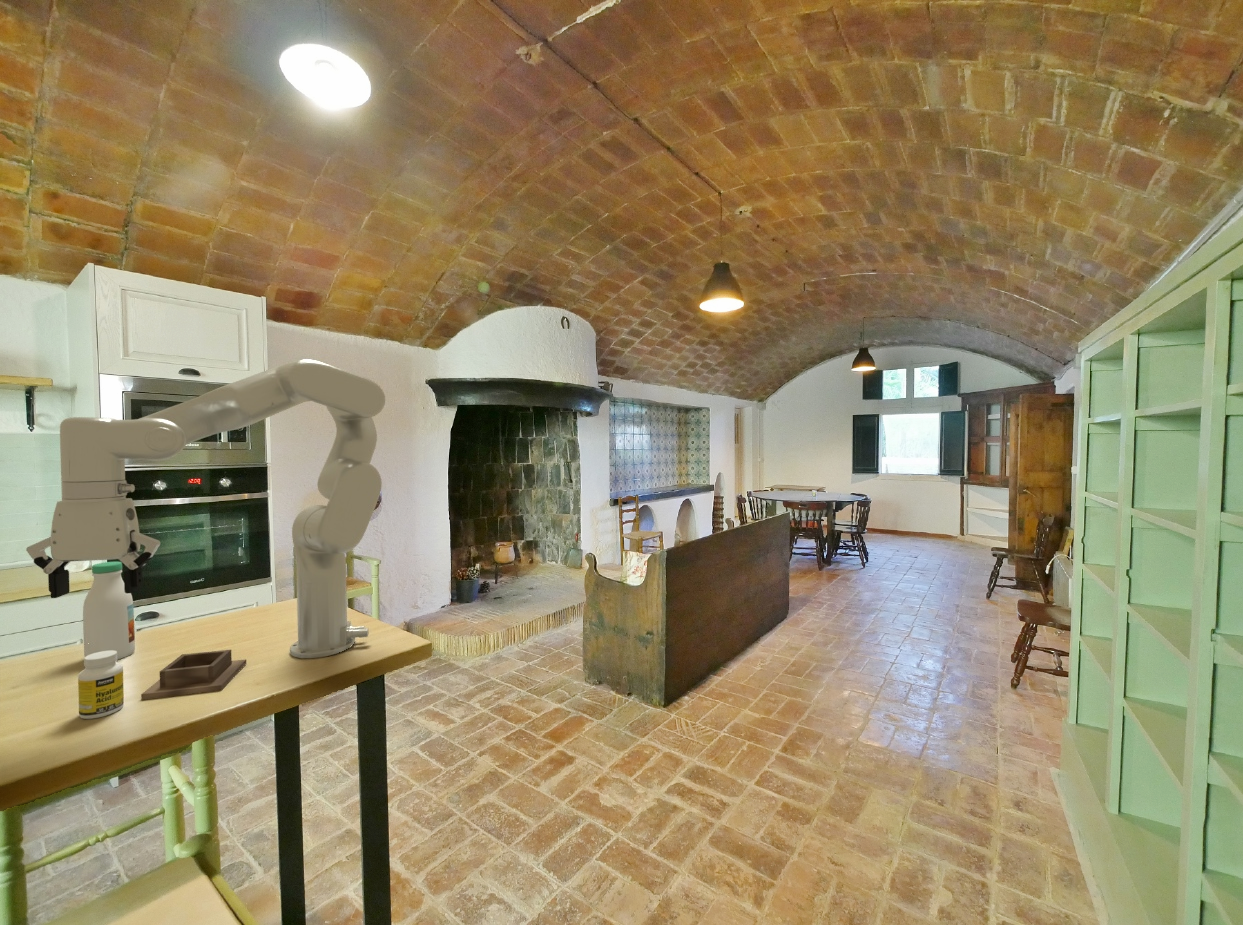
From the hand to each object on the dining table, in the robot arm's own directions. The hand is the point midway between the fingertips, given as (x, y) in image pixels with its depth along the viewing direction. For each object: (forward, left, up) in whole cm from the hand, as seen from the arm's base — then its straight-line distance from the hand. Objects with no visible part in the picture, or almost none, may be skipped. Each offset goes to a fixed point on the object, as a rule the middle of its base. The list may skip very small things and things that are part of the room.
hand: (97, 593), depth 88 cm
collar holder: (-10, -9, -20) cm, 24 cm away
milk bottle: (+13, -28, -20) cm, 37 cm away
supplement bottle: (0, 0, -20) cm, 20 cm away
